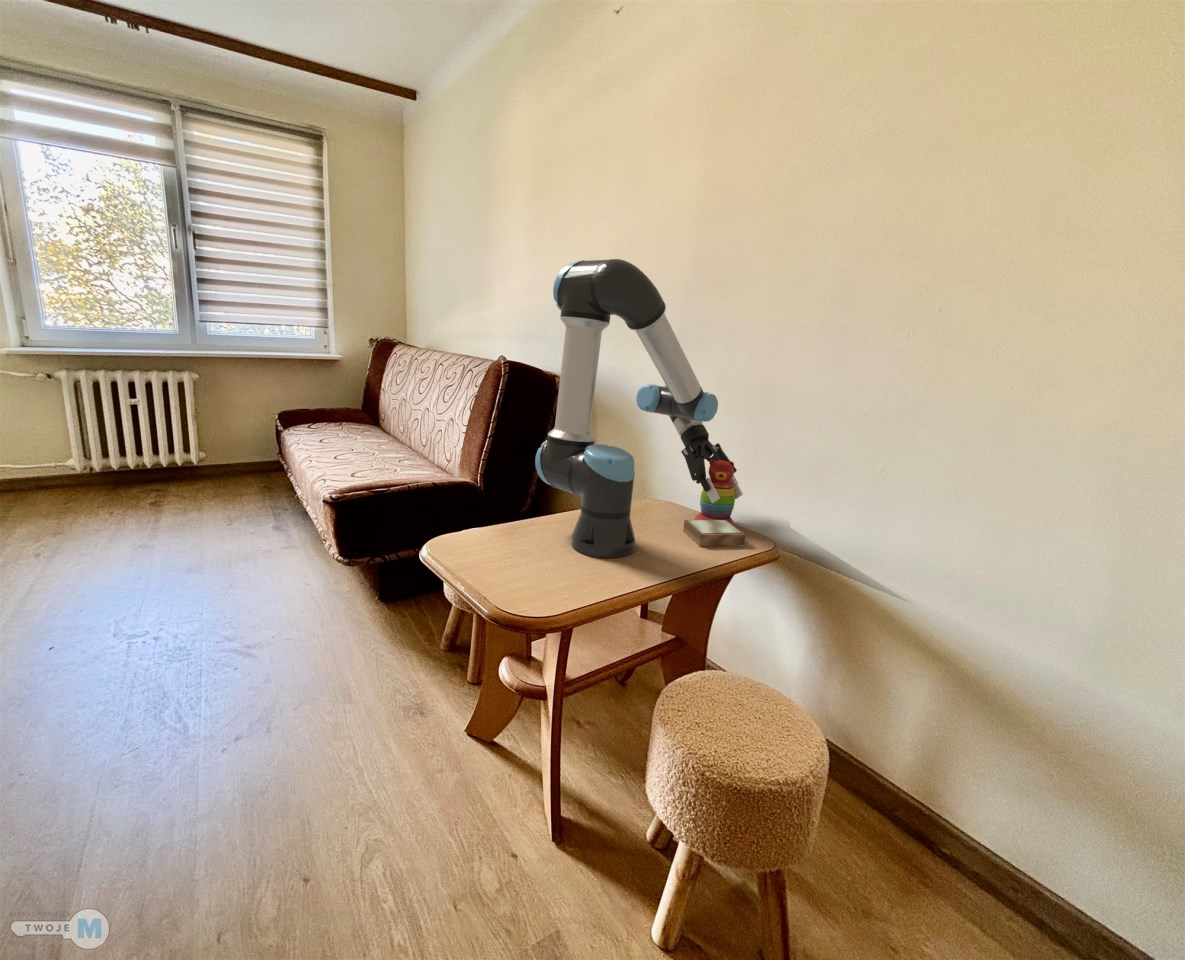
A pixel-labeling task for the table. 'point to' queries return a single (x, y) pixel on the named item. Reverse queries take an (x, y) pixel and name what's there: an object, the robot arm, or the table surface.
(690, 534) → the grey flat block
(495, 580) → the table surface
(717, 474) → the stacking bear
